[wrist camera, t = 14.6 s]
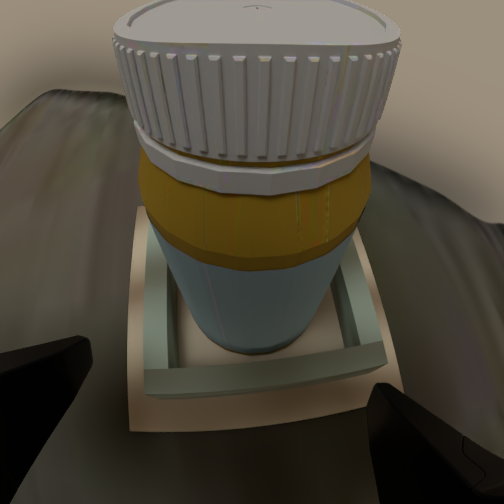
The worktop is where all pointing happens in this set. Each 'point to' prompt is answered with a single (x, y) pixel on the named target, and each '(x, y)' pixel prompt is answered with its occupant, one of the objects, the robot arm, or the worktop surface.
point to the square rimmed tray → (244, 366)
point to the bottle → (255, 150)
